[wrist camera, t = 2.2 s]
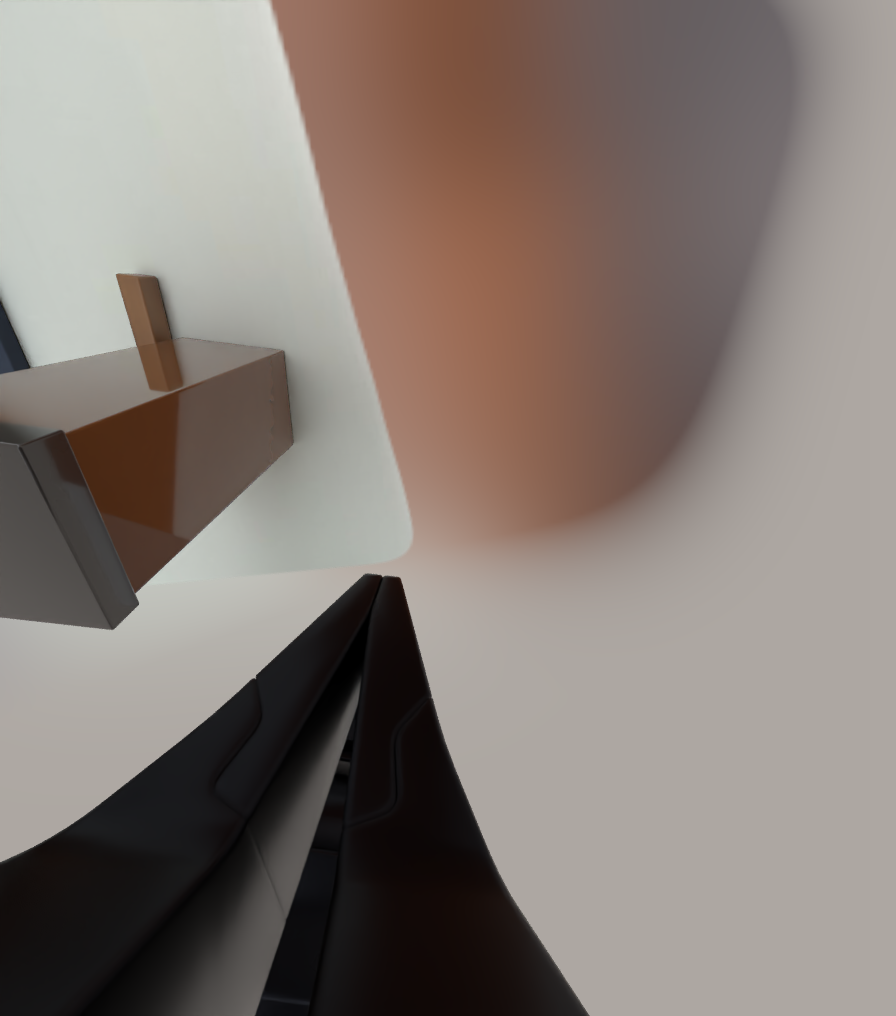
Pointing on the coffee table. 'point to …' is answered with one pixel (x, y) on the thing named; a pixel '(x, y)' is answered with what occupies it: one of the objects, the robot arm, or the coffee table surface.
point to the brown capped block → (126, 468)
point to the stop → (144, 308)
